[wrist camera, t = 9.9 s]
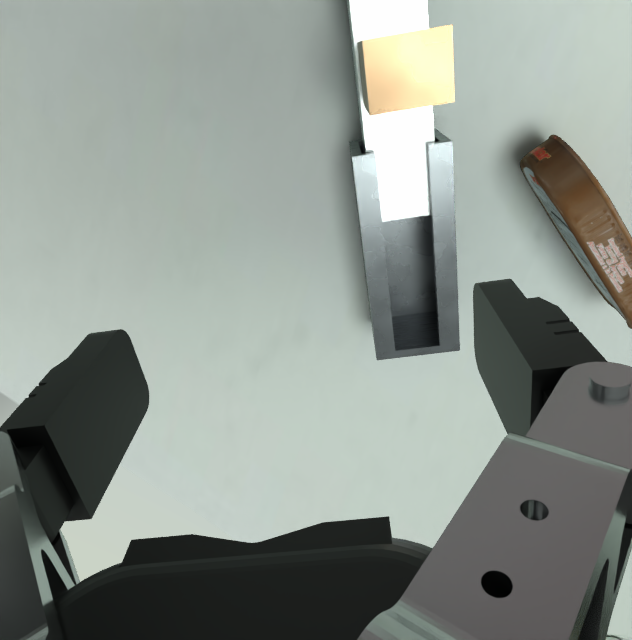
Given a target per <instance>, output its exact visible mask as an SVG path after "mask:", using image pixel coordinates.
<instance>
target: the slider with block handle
mask: <svg viewBox="0 0 632 640" xmlns="http://www.w3.org/2000/svg"><path fill="white" fill-rule="evenodd" d="M347 7H348V16H349V25H350V34H351V43H352V52H353V61H354V70H355V79H356V88H357V97H358V106H359V115H360V124H361V132H362V141H363V150H364V153H369V152H375V157H376V166H377V176H378V186H379V196H380V206H381V216H382V222H385V221H392V220H399V219H406V218H413V217H420V216H427V215H431V205H430V187H429V170H428V152H427V143H433V142H434V123H433V105H439V104H445V103H451V102H455V89H454V58H453V27H452V25H446V26H441V27H435V28H430V29H429V24H428V4H427V0H347Z"/></svg>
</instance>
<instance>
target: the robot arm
mask: <svg viewBox="0 0 632 640" xmlns="http://www.w3.org/2000/svg"><path fill="white" fill-rule="evenodd" d="M473 309H474V348H475V357H476V362H477V366H478V370H479V373H480V375H481V377H482V379H483V382H484V384H485V386H486V388H487V390H488V392H489V395H490V397H491V399H492V401H493V403H494V405H495V408H496V410H497V412H498V414H499V416H500V418H501V421H502V423H503V425H504V427H505V429H506V432H507V434H508V435H507V436H506V437H505V438H504V439H503V441H502V442H501V444H500V445H499V447H498V449H497V450H496V452H495V453H494V455H493V456H492V458H491V459H490V461H489V462H488V464H487V466H486V467H485V469H484V470H483V472H482V473H481V475H480V476H479V478H478V479H477V481H476V483H475V484H474V486H473V487H472V489H471V490H470V492H469V493H468V495H467V496H466V498H465V500H464V501H463V503H462V504H461V506H460V507H459V509H458V510H457V512H456V513H455V515H454V517H453V518H452V520H451V521H450V523H449V524H448V526H447V527H446V529H445V530H444V532H443V534H442V535H441V537H440V538H439V540H438V541H437V543H436V544H435V546H434V547H433V548H430V547H428V546H425V545H422V544H419V543H415V542H411V541H408V540H403V539H397V538H392V536H391V528H390V521H389V517H379V518H368V519H357V520H346V521H335V522H324V523H320V524H317V525H314V526H310V527H307V528H304V529H301V530H297V531H294V532H291V533H288V534H284V535H281V536H278V537H275V538H272V539H268V540H265V541H262V542H257V543H246V542H240V541H233V540H226V539H220V538H213V537H206V536H199V535H193V534H191V535H181V536H169V537H158V538H147V539H136V540H131V542H130V545H129V547H128V549H127V552H126V554H125V557H124V559H123V562H122V563H119V564H117V565H114V566H111V567H109V568H107V569H104V570H102V571H100V572H98V573H96V574H94V575H92V576H90V577H88V578H87V579H84V580H83V581H81V582H80V580H79V577H78V574H77V571H76V568H75V565H74V563H73V559H72V556H71V554H70V551H69V548H68V545H67V542H66V540H65V538H64V536H63V534H62V532H61V530H60V528H61V527H62V525H63V523H64V521H75V520H85V519H91V518H92V517H93V515H94V513H95V511H96V509H97V507H98V505H99V503H100V501H101V499H102V497H103V495H104V493H105V491H106V489H107V487H108V486H109V484H110V482H111V480H112V478H113V476H114V474H115V472H116V470H117V468H118V466H119V464H120V462H121V460H122V458H123V456H124V454H125V452H126V451H127V449H128V447H129V445H130V443H131V441H132V439H133V437H134V435H135V433H136V431H137V429H138V427H139V425H140V423H141V421H142V419H143V417H144V415H145V414H146V412H147V409H148V405H149V390H148V385H147V382H146V380H145V377H144V374H143V372H142V369H141V366H140V363H139V361H138V358H137V355H136V353H135V350H134V347H133V345H132V342H131V339H130V337H129V335H128V334H127V333H126V332H125V331H124V330H122V329H120V330H112V331H105V332H97V333H90V334H88V335H87V336H86V337H85V339H84V340H83V341H82V342H81V343H80V344H79V346H78V347H77V348H76V349H75V350H74V351H73V353H72V354H71V355H70V356H69V357H68V358H67V359H66V360H64V361H63V362H61V363H60V364H58V365H57V366H56V367H54V368H53V369H51V370H50V371H49V373H48V374H47V375H46V376H45V377H44V378H43V379H42V380H41V382H40V383H39V386H36V387H35V388H34V390H33V391H32V392H31V393H30V394H29V398H26V399H25V400H24V401H23V402H22V403H21V404H20V405H19V407H18V408H17V409H16V410H15V411H14V412H13V413H12V415H11V416H10V417H9V418H8V419H7V420H6V421H5V422H4V424H3V425H2V426H1V427H0V640H606V635H607V631H608V627H609V623H610V619H611V615H612V611H613V608H614V605H615V601H616V598H617V595H618V592H619V588H620V585H621V582H622V578H623V575H624V572H625V569H626V565H627V562H628V559H629V556H630V552H631V549H632V367H630V366H627V365H623V364H618V363H612V362H607V361H606V360H605V358H604V357H603V356H602V355H601V354H600V353H599V352H598V351H597V349H596V348H595V347H594V346H593V345H592V344H591V343H590V342H589V340H588V339H587V338H586V337H585V336H584V335H583V334H582V333H581V332H579V329H578V328H577V327H576V326H575V325H574V324H573V322H570V320H569V318H568V317H567V316H566V315H565V313H564V312H563V311H562V310H561V309H560V308H559V307H558V306H556V305H554V304H552V303H550V302H548V301H546V300H544V299H542V298H540V297H536V298H528V299H527V298H526V297H525V296H524V295H523V293H522V292H521V291H520V289H519V288H518V287H517V286H516V284H515V283H514V282H513V281H512V280H511V279H504V280H497V281H489V282H482V283H476V284H475V285H474V290H473Z"/></svg>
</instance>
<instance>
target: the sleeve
mask: <svg viewBox="0 0 632 640" xmlns="http://www.w3.org/2000/svg"><path fill="white" fill-rule="evenodd" d="M349 144H350V152H351V160H352V169H353V177H354V185H355V193H356V201H357V209H358V217H359V226H360V234H361V242H362V250H363V258H364V266H365V275H366V283H367V291H368V299H369V307H370V315H371V323H372V330H373V337H374V344H375V351H376V358H377V360H383V359H391V358H400V357H408V356H417V355H425V354H434V353H442V352H451V351H459V350H460V342H459V314H458V286H457V258H456V229H455V201H454V173H453V145H452V141H451V140H450V139H449V138H447V137H446V136H445V135H443V134H442V133H441V132H439V131H438V130H437V129H435V128H434V142H433V143H427V152H428V170H429V187H430V205H431V215H427V216H420V217H413V218H406V219H399V220H392V221H385V222H382V216H381V206H380V196H379V186H378V176H377V166H376V157H375V152H369V153H364V150H363V141H362V140H357V141H350V142H349Z"/></svg>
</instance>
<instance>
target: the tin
mask: <svg viewBox="0 0 632 640" xmlns="http://www.w3.org/2000/svg"><path fill="white" fill-rule="evenodd" d="M520 167H521V170H522V172H523V174H524V176H525V178H526V180H527V181H528V183H529V185H530V186H531V188H532V190H533V191H534V193H535V195H536V196H537V198H538V199H539V201H540V203H541V204H542V206H543V208H544V209H545V211H546V212H547V214H548V216H549V217H550V219H551V221H552V222H553V224H554V226H555V227H556V229H557V230H558V232H559V234H560V235H561V237H562V238H563V240H564V241H565V243H566V244H567V246H568V248H569V249H570V251H571V252H572V254H573V255H574V257H575V258H576V260H577V261H578V263H579V264H580V266H581V267H582V269H583V270H584V271H585V273H586V274H587V276H588V277H589V279H590V280H591V281H592V283H593V284H594V286H595V287H596V288H597V290H598V291H599V292H600V294H601V295H602V296H603V298H604V299H605V300H606V301H607V302H608V304H610V305H611V306H612V307H613V308H615V309H616V310H617V311H618V312H619V313H620V314H621V316H622V317H623V318H624V319H625V320H626V323H627V325H628V327H629V328H631V329H632V237H631V235H630V233H629V231H628V230H627V228H626V226H625V224H624V223H623V221H622V219H621V217H620V216H619V214H618V212H617V210H616V208H615V207H614V205H613V203H612V202H611V200H610V198H609V197H608V195H607V194H606V192H605V191H604V189H603V188H602V186H601V185H600V183H599V182H598V180H597V179H596V177H595V176H594V175H593V174H592V172H591V171H590V169H589V168H588V167H587V166H586V164H585V163H584V162H583V161H582V159H581V158H580V157H579V156H578V155H577V154H576V152H575V151H574V150H573V149H572V148H571V147H570V146H569V145H568V144H567V143H566V142H564V141H563V140H562V139H561V138H560V137H558V136H557V135H551V136H550V137H549V139H548V140H546V141H545V142H543V143H542V144H541V145H539V146H538V147H536V148H535V149H533V150H532V151H531V152H529V153H528V154H527V155H525V156H524V157H523V158H522V160H521V162H520Z"/></svg>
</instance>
